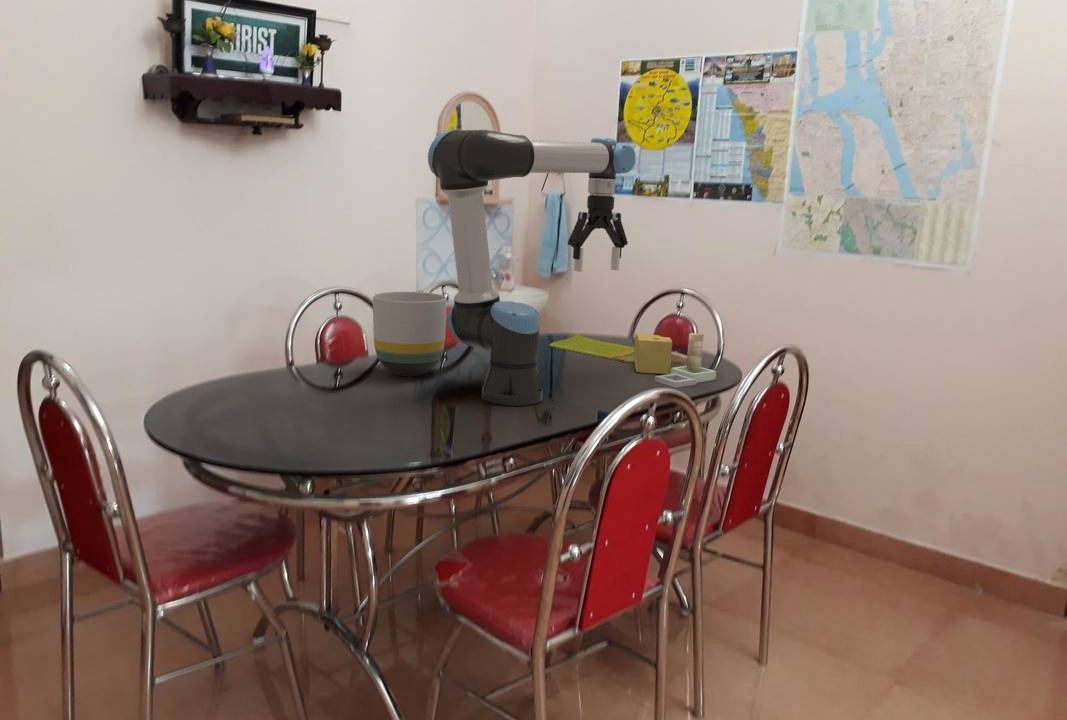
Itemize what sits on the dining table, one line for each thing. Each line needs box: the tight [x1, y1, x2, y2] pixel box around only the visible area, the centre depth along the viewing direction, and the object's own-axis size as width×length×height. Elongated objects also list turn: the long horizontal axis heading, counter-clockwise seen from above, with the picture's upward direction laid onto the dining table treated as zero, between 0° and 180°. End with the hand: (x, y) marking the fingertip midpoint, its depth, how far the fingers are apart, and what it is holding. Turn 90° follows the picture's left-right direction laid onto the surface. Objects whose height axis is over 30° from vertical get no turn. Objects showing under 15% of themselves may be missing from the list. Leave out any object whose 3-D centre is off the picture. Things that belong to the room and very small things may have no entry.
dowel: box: [686, 332, 705, 373], centre depth 237 cm, size 4×4×12 cm
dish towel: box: [548, 334, 635, 365], centre depth 268 cm, size 15×36×3 cm, turn 50°
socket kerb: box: [654, 373, 697, 388], centre depth 231 cm, size 8×8×2 cm
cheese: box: [633, 332, 673, 375], centre depth 245 cm, size 10×11×10 cm
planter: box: [372, 291, 448, 377], centre depth 226 cm, size 20×20×21 cm
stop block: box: [670, 351, 687, 368], centre depth 251 cm, size 3×10×4 cm, turn 36°
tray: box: [670, 366, 717, 384], centre depth 238 cm, size 9×9×2 cm
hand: (596, 270), depth 239 cm, fingers open, 13 cm apart
